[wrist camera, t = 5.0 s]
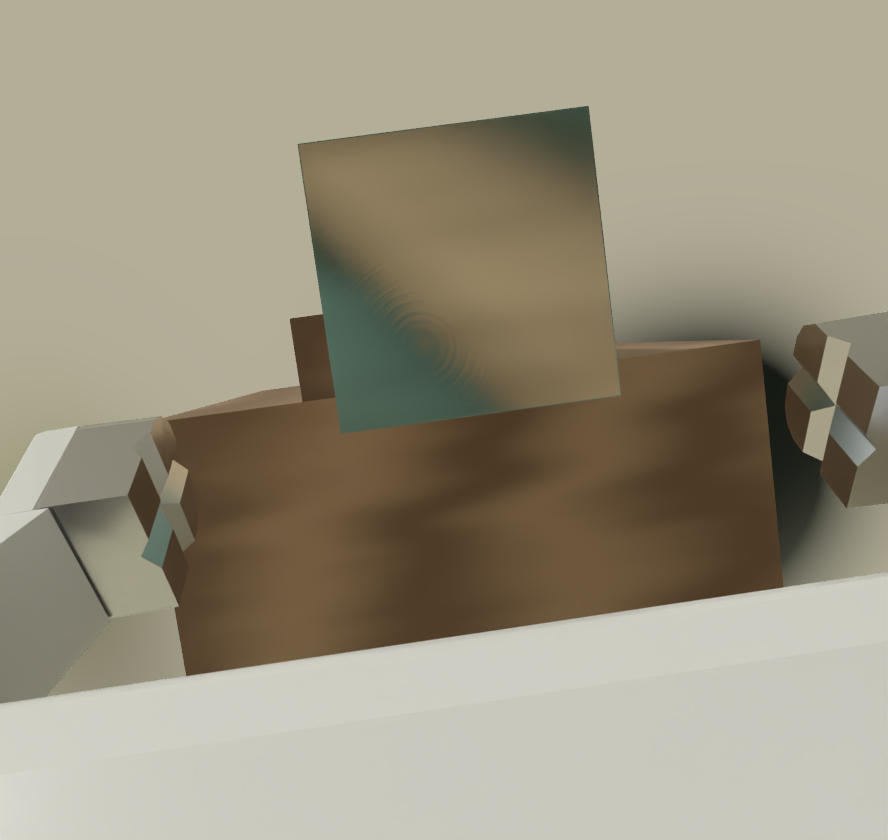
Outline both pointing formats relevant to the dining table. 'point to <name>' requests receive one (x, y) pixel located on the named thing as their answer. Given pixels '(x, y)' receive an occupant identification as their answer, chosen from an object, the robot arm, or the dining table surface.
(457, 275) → the oak bar
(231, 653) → the walnut mount
